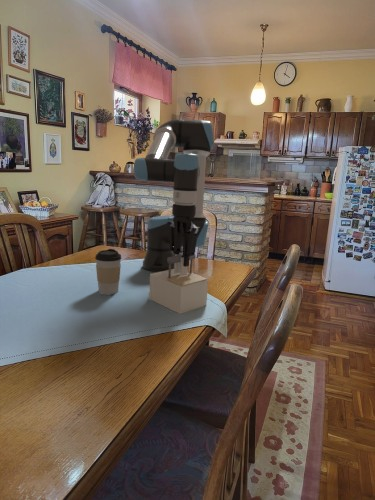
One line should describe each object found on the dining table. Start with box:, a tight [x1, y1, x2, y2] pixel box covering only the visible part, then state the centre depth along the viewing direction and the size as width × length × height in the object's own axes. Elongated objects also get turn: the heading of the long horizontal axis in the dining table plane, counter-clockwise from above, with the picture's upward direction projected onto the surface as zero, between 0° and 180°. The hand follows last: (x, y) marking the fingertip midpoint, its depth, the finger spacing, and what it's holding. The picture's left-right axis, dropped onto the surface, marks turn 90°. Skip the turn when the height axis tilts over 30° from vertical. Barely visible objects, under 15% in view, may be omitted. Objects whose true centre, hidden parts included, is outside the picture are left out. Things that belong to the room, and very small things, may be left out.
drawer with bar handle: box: [166, 254, 208, 287], centre depth 116 cm, size 11×8×8 cm
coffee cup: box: [94, 248, 122, 295], centre depth 127 cm, size 9×9×15 cm
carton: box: [149, 269, 209, 315], centre depth 121 cm, size 12×17×9 cm
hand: (180, 273), depth 119 cm, fingers closed on drawer with bar handle, 2 cm apart
